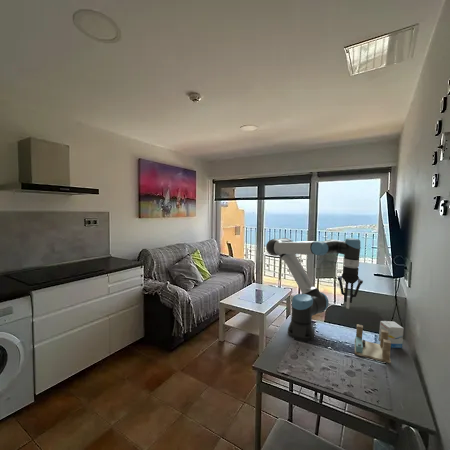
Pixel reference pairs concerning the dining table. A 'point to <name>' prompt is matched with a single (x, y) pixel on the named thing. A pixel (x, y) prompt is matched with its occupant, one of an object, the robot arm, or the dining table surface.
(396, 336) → the ink box
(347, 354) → the dining table surface
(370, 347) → the stool seat
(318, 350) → the dining table surface
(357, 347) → the hinged leg
